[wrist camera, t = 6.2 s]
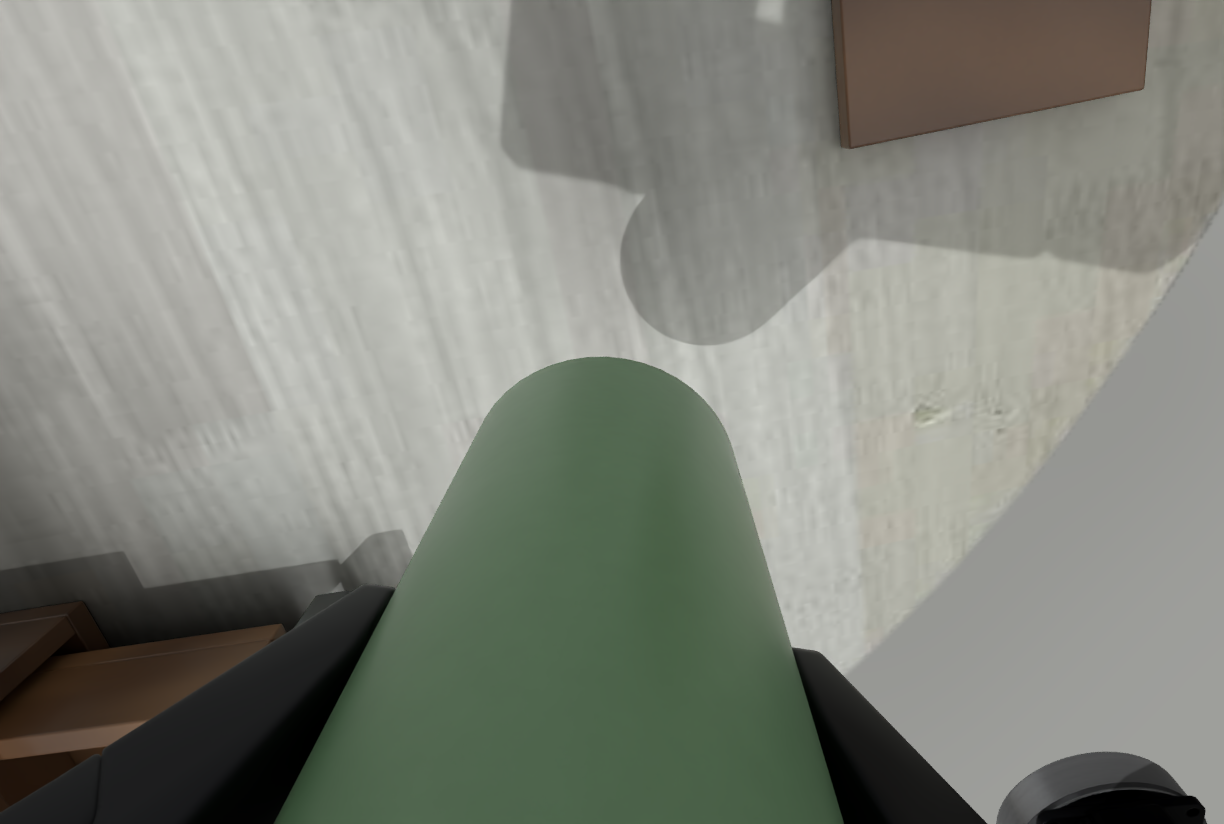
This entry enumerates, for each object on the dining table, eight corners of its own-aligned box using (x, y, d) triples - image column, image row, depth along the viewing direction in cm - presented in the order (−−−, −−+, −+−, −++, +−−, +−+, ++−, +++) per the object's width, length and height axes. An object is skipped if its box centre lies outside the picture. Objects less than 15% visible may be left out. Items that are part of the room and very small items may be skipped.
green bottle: (764, 380, 12) (1374, 1586, 2) (704, 607, 14) (874, 1811, 4) (483, 333, 12) (-308, 1394, 2) (461, 569, 14) (5, 1721, 4)
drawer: (486, 569, 22) (453, 664, 18) (565, 822, 27) (553, 942, 23) (13, 639, 24) (-110, 740, 20) (161, 865, 29) (84, 985, 25)
